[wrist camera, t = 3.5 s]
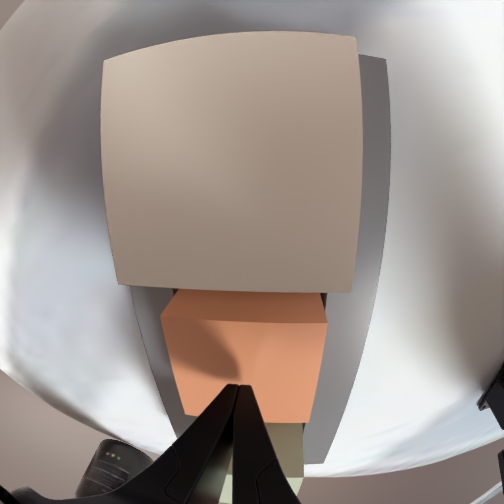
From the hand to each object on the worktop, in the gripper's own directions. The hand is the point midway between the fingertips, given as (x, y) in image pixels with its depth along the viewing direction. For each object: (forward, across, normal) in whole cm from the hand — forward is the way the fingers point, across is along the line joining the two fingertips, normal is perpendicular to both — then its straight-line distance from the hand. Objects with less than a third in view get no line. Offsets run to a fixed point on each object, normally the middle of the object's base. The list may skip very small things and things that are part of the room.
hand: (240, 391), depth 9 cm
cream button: (+3, 0, -8) cm, 8 cm away
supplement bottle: (+5, +14, +20) cm, 25 cm away
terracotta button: (+5, 0, 0) cm, 5 cm away
